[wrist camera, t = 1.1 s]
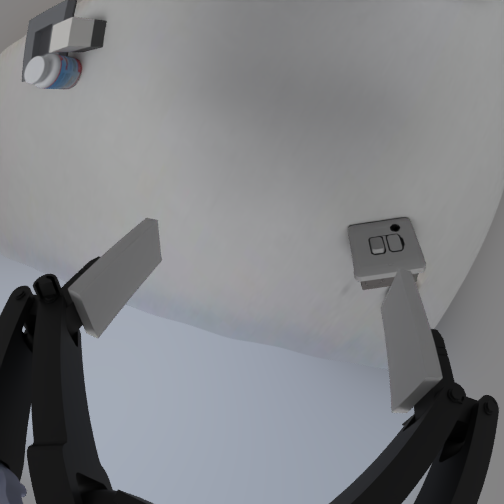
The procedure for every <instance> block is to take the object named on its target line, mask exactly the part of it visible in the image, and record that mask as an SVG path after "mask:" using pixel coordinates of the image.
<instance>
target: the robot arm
mask: <svg viewBox="0 0 504 504" xmlns="http://www.w3.org/2000/svg"><path fill="white" fill-rule="evenodd" d="M161 261H162V259H161V250H160V240H159V230H158V220H155V219H150V218H146V219H145V220H143V221H142V222H141V223H140V224H138V225H137V226H136V227H135V228H134V229H132V230H131V231H130V232H129V233H128V234H127V235H125V236H124V237H123V238H122V239H121V240H120V241H118V242H117V243H116V244H115V245H114V246H113V247H112V248H110V249H109V250H108V251H107V252H106V253H105V254H104V255H103V256H102V257H97V258H95V259H93V260H91V261H89V262H88V263H87V264H86V265H85V266H84V267H83V268H82V269H81V270H80V271H79V272H78V273H76V274H75V275H74V276H73V277H72V278H71V279H70V280H69V281H68V282H67V283H66V284H65V285H64V286H63V287H62V288H61V287H60V284H59V281H58V279H57V277H56V276H55V275H53V274H46V275H43V276H41V277H39V278H38V279H37V280H36V281H35V282H34V284H33V288H34V290H35V292H36V294H37V295H33V294H32V292H31V290H30V288H29V287H28V286H20V287H18V288H16V289H15V290H14V291H13V292H12V294H11V295H10V297H9V299H8V301H7V303H6V305H5V307H4V309H3V311H2V313H1V315H0V504H23V502H22V498H21V497H25V496H26V493H27V492H26V488H25V486H24V485H22V484H21V483H20V479H21V475H22V470H23V465H24V455H25V444H26V434H27V426H28V420H29V413H30V407H31V406H32V423H33V424H32V425H33V436H34V443H33V445H31V446H29V447H28V449H27V458H28V465H29V472H30V477H31V482H32V487H33V491H34V496H35V500H36V503H37V504H153V503H151V502H149V501H146V500H144V499H142V498H140V497H137V496H134V495H131V494H128V493H126V492H123V491H120V490H118V491H114V490H112V487H111V484H110V481H109V478H108V476H107V474H106V472H105V470H104V469H103V467H102V466H101V464H100V461H99V458H98V454H97V450H96V446H95V441H94V437H93V432H92V427H91V423H90V417H89V411H88V405H87V398H86V391H85V383H84V374H83V362H82V348H81V333H80V330H79V328H80V327H81V326H82V325H83V326H84V329H85V330H86V333H88V334H90V335H92V336H94V337H96V338H99V337H100V335H101V334H102V333H103V331H104V330H105V329H106V328H107V327H108V325H109V324H110V323H111V321H112V320H113V319H114V318H115V316H116V315H117V314H118V312H119V311H120V310H121V309H122V308H123V306H124V305H125V304H126V303H127V301H128V300H129V299H130V298H131V297H132V295H133V294H134V293H135V292H136V290H137V289H138V288H139V287H140V286H141V284H142V283H143V282H144V281H145V280H146V279H147V277H148V276H149V275H150V274H151V273H152V271H153V270H154V269H155V268H156V267H157V266H158V264H159V263H160V262H161ZM381 313H382V319H383V326H384V333H385V340H386V348H387V357H388V366H389V377H390V390H391V408H392V413H407V412H408V411H409V410H411V408H413V407H414V411H415V414H414V415H413V416H411V417H410V418H409V419H408V420H407V421H406V422H404V423H403V424H402V425H405V426H404V427H403V428H402V429H401V431H400V432H399V433H398V434H397V436H396V437H395V438H394V439H393V440H392V442H391V443H390V444H389V445H388V446H387V448H386V449H385V450H384V451H383V452H382V453H381V454H380V455H379V457H378V458H377V459H376V460H375V461H374V462H373V463H372V464H371V465H370V466H369V467H368V468H367V469H366V470H365V471H364V472H363V474H361V475H360V476H359V477H358V478H357V479H356V480H355V481H354V482H353V483H352V484H351V485H350V486H349V487H348V488H347V489H345V490H344V491H343V492H342V493H341V494H340V495H339V496H338V497H336V498H335V499H334V500H333V501H332V502H331V503H329V504H401V503H402V502H403V501H404V500H405V498H407V496H408V495H409V494H410V492H411V491H412V490H413V489H414V487H415V486H416V485H417V484H418V482H419V480H420V479H421V478H422V476H423V475H424V474H425V472H426V471H427V470H428V468H429V467H430V465H431V464H432V465H431V468H430V470H429V472H428V475H427V477H426V479H425V481H424V484H423V486H422V488H421V490H420V492H419V494H418V496H417V498H416V500H415V502H414V504H477V502H478V499H479V496H480V493H481V490H482V487H483V484H484V481H485V477H486V474H487V470H488V466H489V462H490V458H491V454H492V449H493V445H494V439H495V434H496V428H497V420H498V413H499V408H498V405H497V402H496V400H495V399H494V398H493V397H492V396H489V395H485V396H483V397H482V398H481V399H479V400H478V401H477V400H474V399H471V398H468V397H466V394H465V391H464V389H463V388H462V387H461V386H460V385H459V384H457V383H455V382H454V378H453V374H452V370H451V366H450V362H449V358H448V356H447V355H448V354H447V351H446V349H445V344H444V340H443V338H442V337H441V335H440V333H439V332H438V330H435V329H430V325H429V322H428V319H427V316H426V312H425V309H424V306H423V303H422V300H421V297H420V294H419V291H418V289H417V286H416V283H415V280H414V278H413V275H412V272H411V271H408V270H404V269H398V271H397V273H396V276H395V278H394V280H393V282H392V285H391V287H390V289H389V291H388V293H387V295H386V298H385V300H384V302H383V304H382V306H381ZM23 326H24V327H25V328H26V330H25V332H24V333H23V332H22V328H23ZM432 462H433V463H432Z"/></svg>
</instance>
